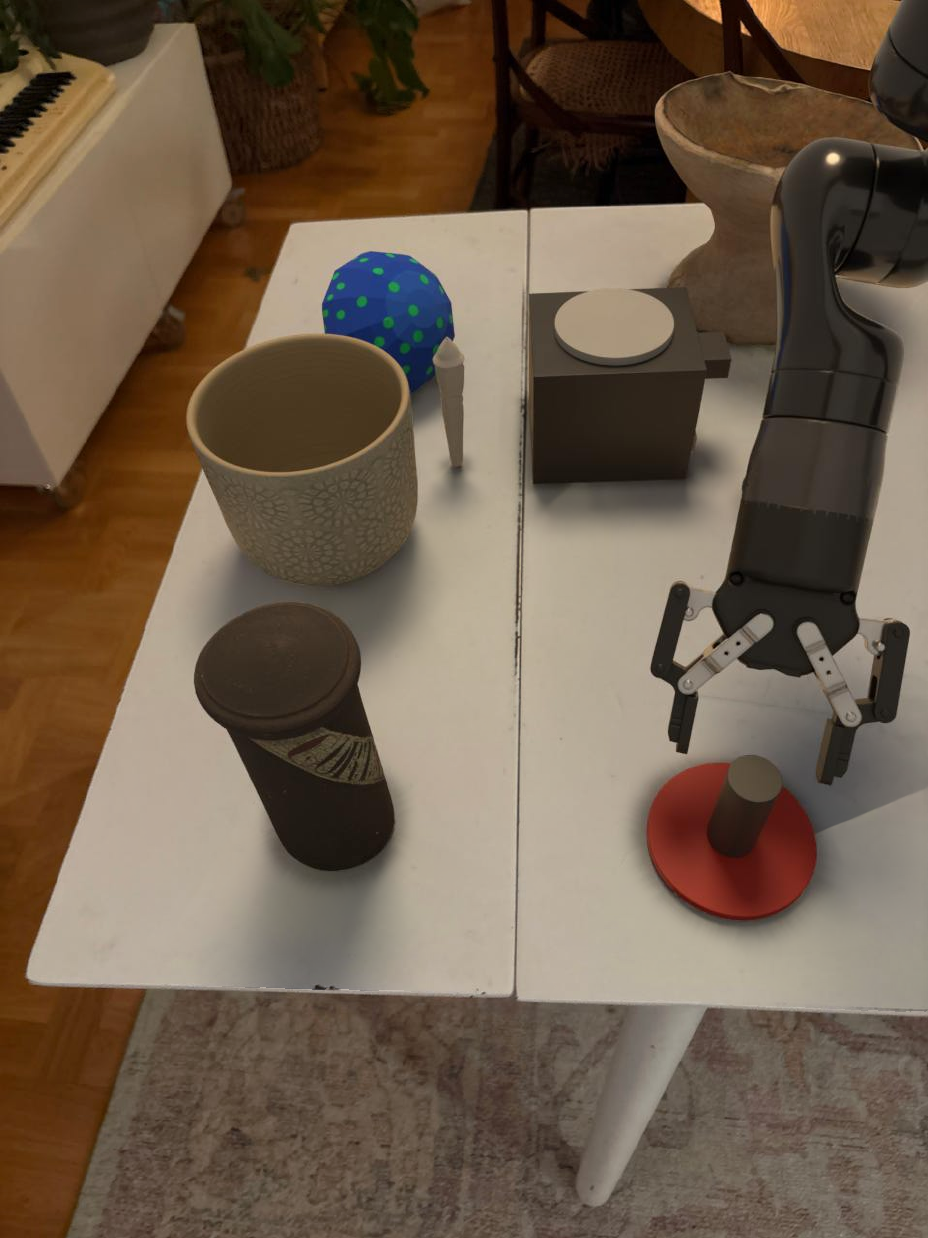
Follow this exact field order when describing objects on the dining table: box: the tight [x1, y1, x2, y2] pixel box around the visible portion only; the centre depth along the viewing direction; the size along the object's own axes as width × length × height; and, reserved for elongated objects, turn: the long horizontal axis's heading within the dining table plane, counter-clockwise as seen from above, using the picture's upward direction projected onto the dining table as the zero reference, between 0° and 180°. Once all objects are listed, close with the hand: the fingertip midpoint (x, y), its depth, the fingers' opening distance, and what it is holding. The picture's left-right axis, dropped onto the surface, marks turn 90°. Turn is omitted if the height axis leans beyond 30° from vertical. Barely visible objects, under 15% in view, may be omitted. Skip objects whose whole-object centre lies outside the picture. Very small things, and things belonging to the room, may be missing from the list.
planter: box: [185, 333, 419, 587], centre depth 74 cm, size 17×17×15 cm
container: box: [193, 601, 396, 872], centre depth 56 cm, size 9×9×20 cm
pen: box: [433, 337, 465, 468], centre depth 80 cm, size 2×3×14 cm
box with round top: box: [528, 287, 732, 485], centre depth 82 cm, size 17×12×13 cm
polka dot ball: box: [321, 250, 456, 396], centre depth 91 cm, size 14×14×15 cm
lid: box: [646, 754, 818, 922], centre depth 58 cm, size 11×11×9 cm
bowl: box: [654, 70, 925, 346], centre depth 91 cm, size 26×25×20 cm
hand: (751, 765), depth 56 cm, fingers open, 8 cm apart
